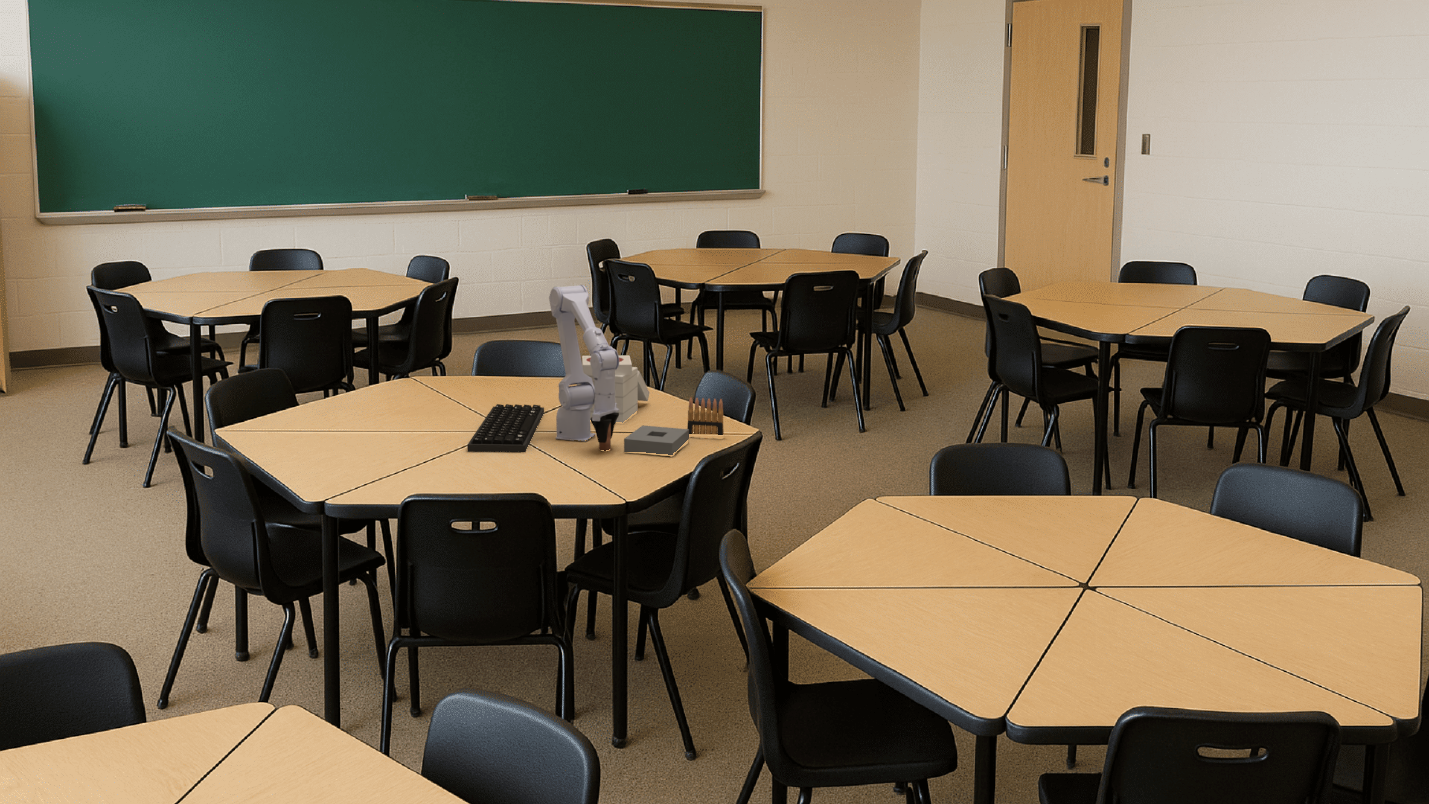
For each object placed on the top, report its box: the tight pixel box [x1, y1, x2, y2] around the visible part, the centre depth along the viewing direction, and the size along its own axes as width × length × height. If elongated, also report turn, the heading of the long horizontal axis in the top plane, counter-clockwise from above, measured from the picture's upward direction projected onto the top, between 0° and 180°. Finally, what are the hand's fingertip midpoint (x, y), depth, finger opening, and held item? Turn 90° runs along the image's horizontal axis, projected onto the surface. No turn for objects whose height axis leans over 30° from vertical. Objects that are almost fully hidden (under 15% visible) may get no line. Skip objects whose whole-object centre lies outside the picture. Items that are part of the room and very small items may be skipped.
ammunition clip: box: [686, 397, 724, 435], centre depth 339 cm, size 11×2×12 cm, turn 82°
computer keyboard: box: [466, 403, 545, 453], centre depth 343 cm, size 45×16×4 cm, turn 2°
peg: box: [598, 422, 612, 451], centre depth 324 cm, size 3×3×8 cm
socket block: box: [623, 425, 690, 455], centre depth 328 cm, size 14×16×4 cm
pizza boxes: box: [576, 354, 650, 423], centre depth 366 cm, size 19×30×18 cm, turn 166°
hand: (604, 440), depth 325 cm, fingers open, 4 cm apart
